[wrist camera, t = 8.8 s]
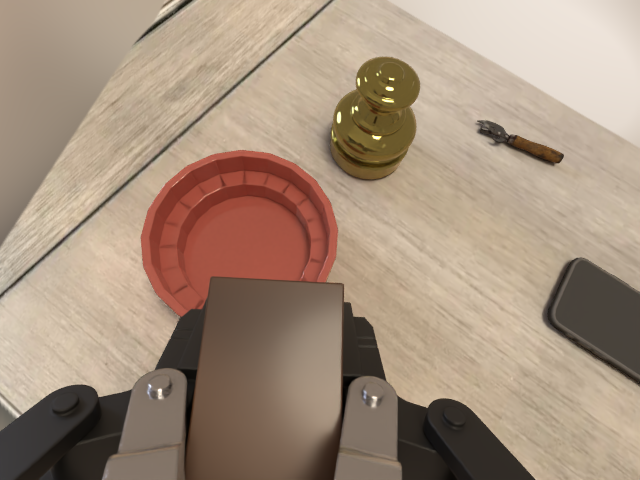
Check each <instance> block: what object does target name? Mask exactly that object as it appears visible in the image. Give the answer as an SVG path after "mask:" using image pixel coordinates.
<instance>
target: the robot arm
mask: <svg viewBox="0 0 640 480" xmlns="http://www.w3.org/2000/svg"><path fill="white" fill-rule="evenodd" d="M207 297H208V296H207ZM206 304H207V298H206V301H205V303H204V305H203V308H202V309H190V310H189V311H188V312H187V313H185V314H184V315H183V316H182V317H181V318H180V320H179V322H178V324H177V326H176V328H175V330H174V332H173V334H172V336H171V339H170V340H169V342H168V344H167V346H166V348H165V350H164V352H163V354H162V356H161V358H160V360H159V362H158V364H157V366H156V368H155V370H154V371H151V372H149V373H147V374H145V375H144V376H142V377H141V378H140V379H139V380H138V381H137V382H136V383H135V385H134V386H133V389H131V390H129V391H126V392H122V393H117V394H113V395H108V396H103V397H98V394H97V392H96V390H95V389H94V388H92V387H90V386H87V385H71V386H67V387H64V388H61V389H58V390H56V391H54V392H52V393H51V394H49V395H48V396H46V397H45V398H43V399H42V400H41V401H40V402H38V403H37V404H36V405H34V406H33V407H32V408H30V409H29V410H28V411H26V412H25V413H24V414H22V415H21V416H20V417H19V418H17V419H16V420H15V421H13V422H12V423H11V424H9V425H8V426H7V427H5V428H4V429H3V430H1V431H0V480H185V474H184V460H185V453H186V446H187V439H188V432H189V425H190V418H191V410H192V403H193V396H194V389H195V382H196V375H197V368H198V361H199V354H200V347H201V340H202V332H203V325H204V318H205V311H206ZM334 480H535V479H534V478H533V476H532V475H531V474H530V473H529V472H528V471H527V470H526V469H525V468H524V467H523V466H522V464H521V463H520V462H519V461H518V460H517V459H516V458H515V457H514V456H513V455H512V454H511V453H510V451H509V450H508V449H507V448H506V447H505V446H504V445H503V444H502V443H501V442H500V441H499V439H498V438H497V437H496V436H495V435H494V434H493V433H492V432H491V431H490V430H489V429H488V427H487V426H486V425H485V424H484V423H483V422H482V421H481V420H480V419H479V418H478V417H477V415H476V414H475V413H474V412H473V411H472V410H471V409H470V408H468V407H467V406H466V405H464V404H462V403H460V402H458V401H455V400H452V399H445V398H444V399H437V400H435V401H433V402H432V403H431V404H430V405H429V407H428V408H426V407H423V406H420V405H416V404H413V403H410V402H407V401H405V400H403V399H402V398H400V397H398V396H397V394H396V392H395V390H394V388H393V387H392V386H391V385H390V384H389V383H388V382H387V381H386V378H385V374H384V370H383V366H382V362H381V358H380V354H379V350H378V348H377V342H376V340H375V334H374V330H373V327H372V326H371V324H370V323H369V322H368V321H367V320H366V319H365V317H353V313H352V308H351V303H348V302H344V325H343V397H342V432H341V439H340V445H339V451H338V457H337V463H336V470H335V476H334Z"/></svg>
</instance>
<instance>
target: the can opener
mask: <svg viewBox="0 0 640 480" xmlns="http://www.w3.org/2000/svg"><path fill="white" fill-rule="evenodd" d="M478 122H480V123H483V125H482V126H481V129H480V132H481V133H484V134H493V135H496V136H498V137H499V139H496V138H494V137H493V139H494V140H495V141H497V142H504V141H505V140H507V142H508V143H509V144H511V145H512V146H515V147H518V148H520V149H523V150H526V151H528V152H530V153H532V154H534V155H536V156H538V157H540V158H543V159H545V160H548V161H551V162H554V163H560V162H561V160H562V159H563V157H564V154H562V153H560V152H558V151H556V150H554V149H552V148H549V147H547V146H544V145H541V144H537V143H534V142H531V141H529V140H526V139H524V138H522V137H519V136H517V135H510V136H509V135H508V134H507V133H506V132H505V130H504V128H503V127H501V126H500V125H498V124H496V123H493V122H490V121H484V120H482V121H478ZM483 127H486V128H488V129H489V130H483V129H482V128H483ZM492 127H493V128H494V129H493V128H492Z"/></svg>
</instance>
